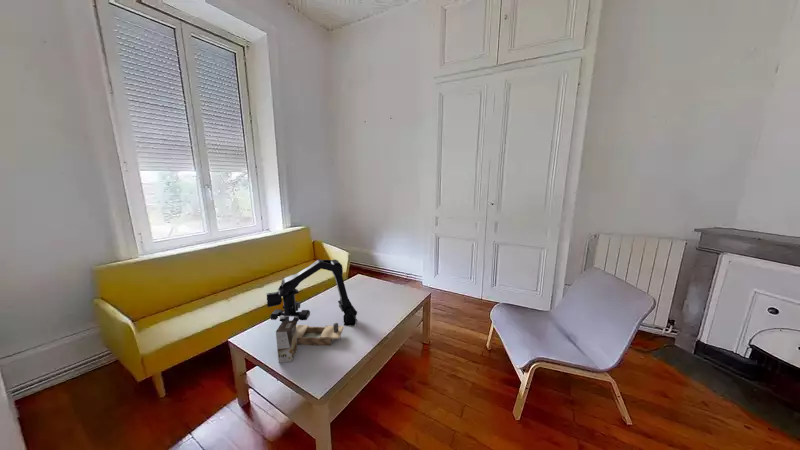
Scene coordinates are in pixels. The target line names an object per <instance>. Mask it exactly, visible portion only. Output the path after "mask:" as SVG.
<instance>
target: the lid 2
mask: <svg viewBox="0 0 800 450" xmlns="http://www.w3.org/2000/svg"><path fill="white" fill-rule="evenodd" d="M344 326H345V325H339V323H338V322H335V323H333V325H325V326H324V327H325V328H324V330H323V332H322V334H321V336H320V338H323V339H333V340H336V339H337V340H340V339H341V336H342V333H343V331H344V328H345V327H344Z"/></svg>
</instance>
